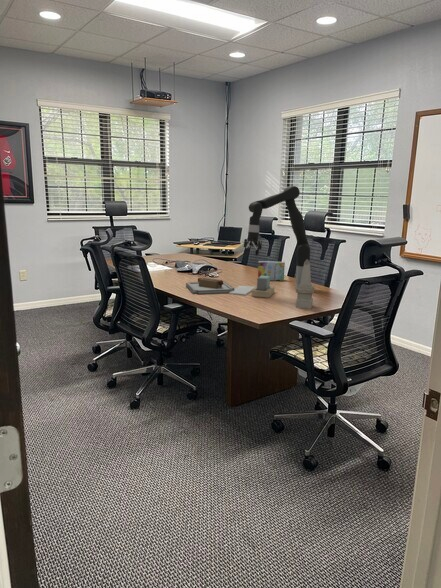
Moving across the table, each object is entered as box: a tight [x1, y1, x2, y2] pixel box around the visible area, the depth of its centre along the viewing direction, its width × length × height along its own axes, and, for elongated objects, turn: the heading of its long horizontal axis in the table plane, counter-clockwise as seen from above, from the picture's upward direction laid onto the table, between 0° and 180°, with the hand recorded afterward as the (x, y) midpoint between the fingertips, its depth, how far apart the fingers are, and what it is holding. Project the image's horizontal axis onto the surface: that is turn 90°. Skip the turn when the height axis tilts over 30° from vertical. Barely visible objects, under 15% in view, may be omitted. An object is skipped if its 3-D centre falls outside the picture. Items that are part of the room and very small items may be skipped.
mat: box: [228, 285, 256, 296], centre depth 313 cm, size 12×26×1 cm, turn 161°
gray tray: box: [185, 277, 235, 295], centre depth 316 cm, size 30×30×8 cm
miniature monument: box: [295, 259, 316, 310], centre depth 270 cm, size 10×10×30 cm
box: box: [256, 276, 271, 291], centre depth 303 cm, size 6×12×12 cm, turn 161°
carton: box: [250, 285, 276, 299], centre depth 304 cm, size 12×21×4 cm, turn 161°
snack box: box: [257, 260, 286, 282], centre depth 355 cm, size 21×6×15 cm, turn 84°
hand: (251, 254), depth 307 cm, fingers open, 8 cm apart
